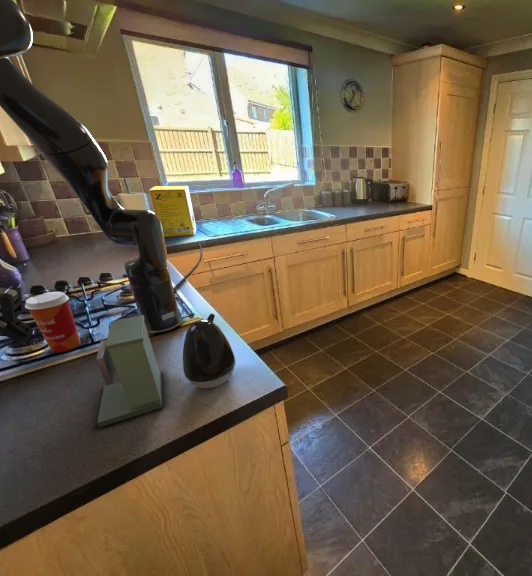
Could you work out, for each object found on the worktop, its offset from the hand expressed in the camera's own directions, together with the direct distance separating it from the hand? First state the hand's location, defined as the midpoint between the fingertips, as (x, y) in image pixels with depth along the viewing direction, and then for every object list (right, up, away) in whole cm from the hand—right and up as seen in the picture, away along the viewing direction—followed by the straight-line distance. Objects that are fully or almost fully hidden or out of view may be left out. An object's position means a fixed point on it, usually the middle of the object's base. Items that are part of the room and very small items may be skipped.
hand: (25, 336), depth 55 cm
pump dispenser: (+22, -13, +19) cm, 32 cm away
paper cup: (-21, -7, +29) cm, 37 cm away
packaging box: (-58, +40, +133) cm, 151 cm away
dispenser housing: (+8, -15, +13) cm, 21 cm away
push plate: (+7, -9, +9) cm, 14 cm away
